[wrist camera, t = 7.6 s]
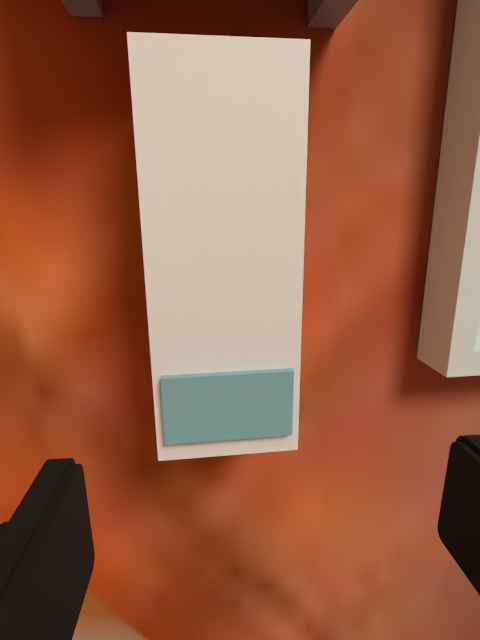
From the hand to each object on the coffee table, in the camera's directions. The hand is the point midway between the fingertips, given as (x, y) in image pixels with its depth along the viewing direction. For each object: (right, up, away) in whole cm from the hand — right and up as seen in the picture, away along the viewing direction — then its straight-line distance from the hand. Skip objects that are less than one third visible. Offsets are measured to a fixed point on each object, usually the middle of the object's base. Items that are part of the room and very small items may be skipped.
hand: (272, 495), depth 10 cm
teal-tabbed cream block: (-2, +7, +8) cm, 11 cm away
